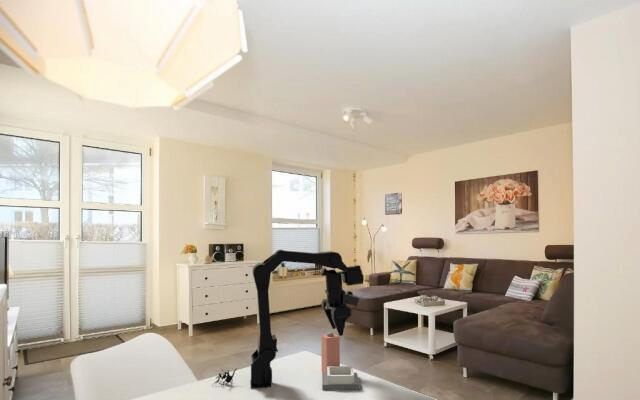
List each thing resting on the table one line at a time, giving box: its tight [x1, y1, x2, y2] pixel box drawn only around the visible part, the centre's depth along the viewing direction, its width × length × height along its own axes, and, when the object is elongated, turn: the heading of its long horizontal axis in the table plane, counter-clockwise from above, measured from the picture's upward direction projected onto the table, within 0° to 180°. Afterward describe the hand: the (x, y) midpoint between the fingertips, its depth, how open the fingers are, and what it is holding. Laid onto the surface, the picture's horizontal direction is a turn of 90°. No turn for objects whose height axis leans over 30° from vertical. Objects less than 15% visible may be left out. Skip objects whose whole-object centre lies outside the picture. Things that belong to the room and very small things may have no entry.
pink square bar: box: [320, 331, 341, 373], centre depth 137 cm, size 5×5×14 cm
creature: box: [211, 367, 238, 386], centre depth 129 cm, size 8×5×8 cm
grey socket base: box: [321, 365, 361, 391], centre depth 127 cm, size 12×10×4 cm
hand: (337, 332), depth 134 cm, fingers open, 9 cm apart
